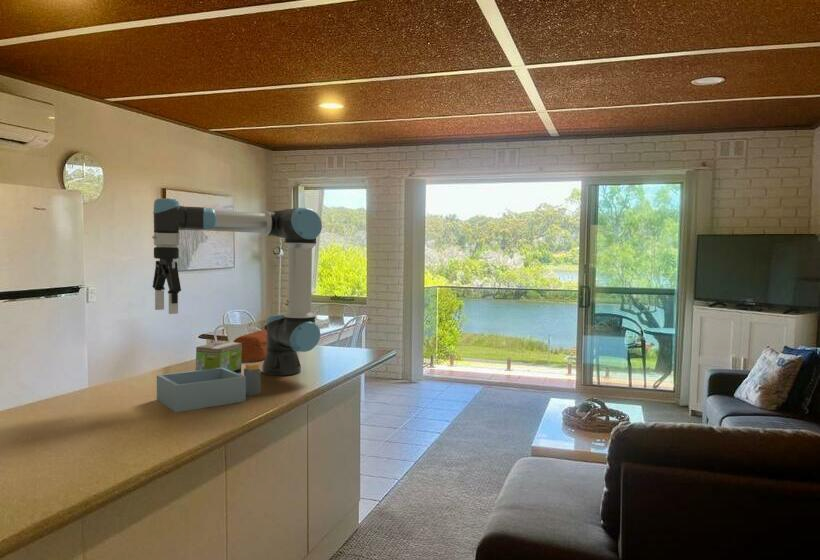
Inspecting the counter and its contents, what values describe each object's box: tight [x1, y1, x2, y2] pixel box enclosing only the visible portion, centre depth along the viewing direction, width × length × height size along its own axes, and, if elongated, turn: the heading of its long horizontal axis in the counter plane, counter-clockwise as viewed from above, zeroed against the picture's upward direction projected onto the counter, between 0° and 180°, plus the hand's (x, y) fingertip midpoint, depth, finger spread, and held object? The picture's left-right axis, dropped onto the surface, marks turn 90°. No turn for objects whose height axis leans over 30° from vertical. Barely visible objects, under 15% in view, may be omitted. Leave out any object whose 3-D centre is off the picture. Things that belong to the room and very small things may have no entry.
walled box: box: [156, 367, 247, 413], centre depth 190 cm, size 22×18×8 cm
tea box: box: [195, 341, 242, 375], centre depth 212 cm, size 15×10×15 cm
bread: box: [233, 329, 267, 362], centre depth 271 cm, size 16×27×11 cm, turn 169°
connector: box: [243, 363, 261, 397], centre depth 201 cm, size 4×4×10 cm
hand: (166, 311), depth 193 cm, fingers open, 13 cm apart
